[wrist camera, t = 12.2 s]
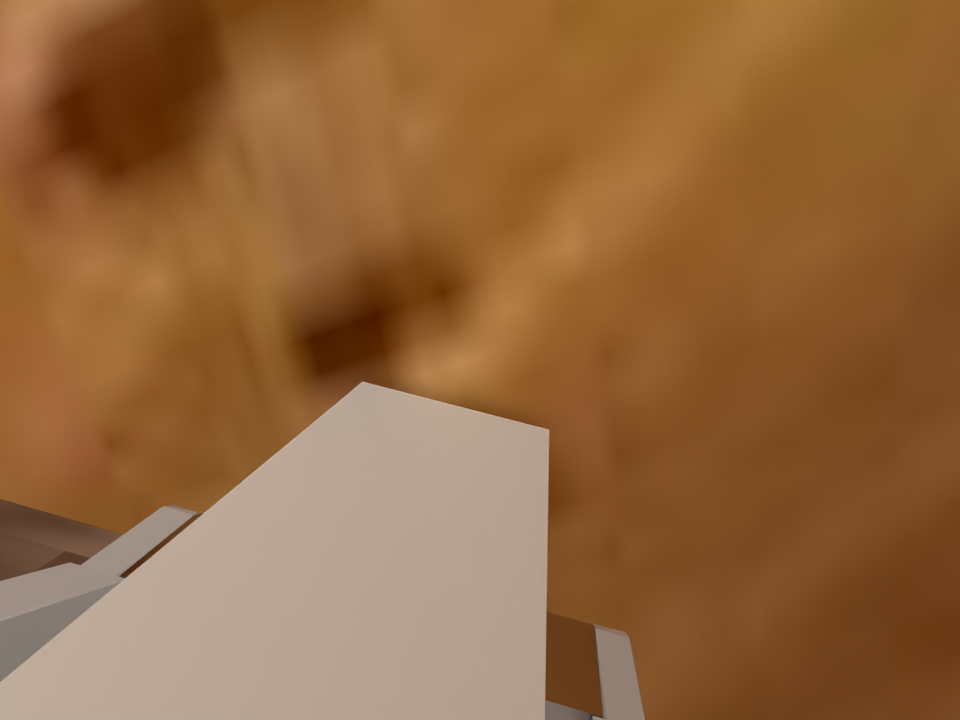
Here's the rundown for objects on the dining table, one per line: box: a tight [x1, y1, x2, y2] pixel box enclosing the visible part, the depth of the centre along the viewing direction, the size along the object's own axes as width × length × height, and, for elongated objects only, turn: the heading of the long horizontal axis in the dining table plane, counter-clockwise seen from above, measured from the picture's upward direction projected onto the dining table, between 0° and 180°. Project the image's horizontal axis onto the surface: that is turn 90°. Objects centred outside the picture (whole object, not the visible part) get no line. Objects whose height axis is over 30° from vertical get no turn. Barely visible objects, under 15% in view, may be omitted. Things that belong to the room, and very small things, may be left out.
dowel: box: [0, 382, 549, 720], centre depth 7 cm, size 4×4×10 cm
